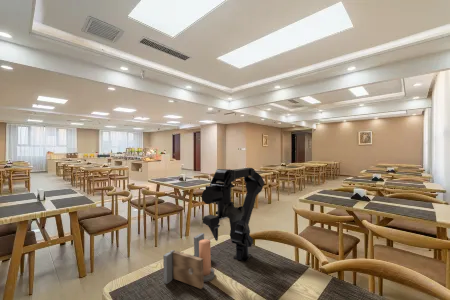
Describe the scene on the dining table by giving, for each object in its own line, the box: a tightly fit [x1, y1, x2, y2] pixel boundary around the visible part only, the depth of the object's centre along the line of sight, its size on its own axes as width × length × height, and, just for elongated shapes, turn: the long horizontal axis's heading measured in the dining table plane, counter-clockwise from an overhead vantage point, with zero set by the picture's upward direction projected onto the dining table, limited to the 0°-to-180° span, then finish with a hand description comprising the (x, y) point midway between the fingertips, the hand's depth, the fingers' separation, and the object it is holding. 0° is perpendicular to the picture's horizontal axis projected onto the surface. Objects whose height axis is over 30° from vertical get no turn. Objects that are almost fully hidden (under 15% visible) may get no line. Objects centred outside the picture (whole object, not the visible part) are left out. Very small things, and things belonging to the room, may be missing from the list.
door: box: [169, 249, 205, 290], centre depth 79 cm, size 15×3×10 cm, turn 60°
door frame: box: [162, 232, 205, 285], centre depth 90 cm, size 24×2×10 cm, turn 150°
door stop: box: [199, 238, 215, 283], centre depth 83 cm, size 7×7×14 cm
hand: (225, 237), depth 88 cm, fingers open, 9 cm apart
